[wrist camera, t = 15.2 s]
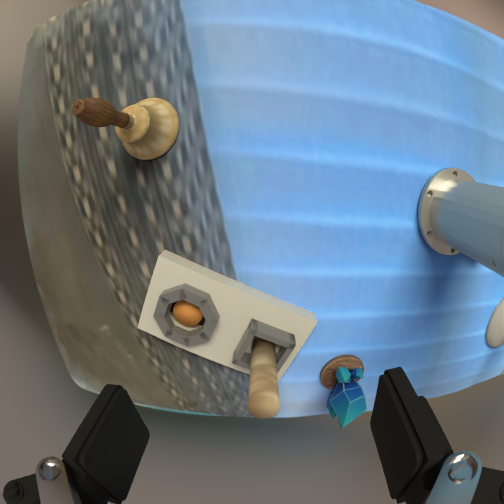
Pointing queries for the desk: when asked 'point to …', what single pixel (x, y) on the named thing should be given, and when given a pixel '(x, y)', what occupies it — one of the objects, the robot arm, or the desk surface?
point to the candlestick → (496, 326)
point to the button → (187, 313)
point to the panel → (222, 315)
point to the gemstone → (344, 388)
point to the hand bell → (134, 124)
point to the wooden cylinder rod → (263, 380)
